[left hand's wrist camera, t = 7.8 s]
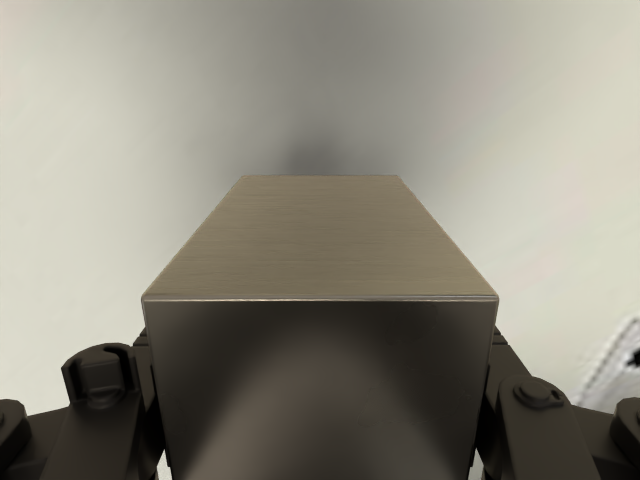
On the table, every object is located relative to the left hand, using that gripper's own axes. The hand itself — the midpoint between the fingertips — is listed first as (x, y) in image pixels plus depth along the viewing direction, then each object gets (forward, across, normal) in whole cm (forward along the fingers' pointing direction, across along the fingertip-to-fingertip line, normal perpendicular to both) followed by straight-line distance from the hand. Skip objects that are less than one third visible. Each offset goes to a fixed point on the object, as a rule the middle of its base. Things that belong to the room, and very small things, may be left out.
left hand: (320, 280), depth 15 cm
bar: (0, 0, -8) cm, 8 cm away
